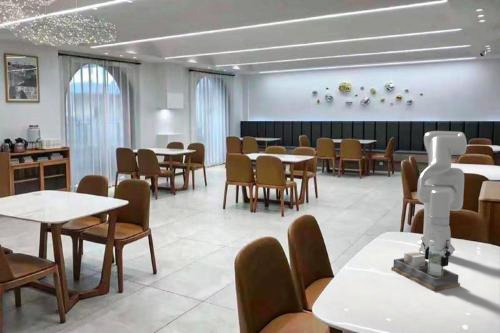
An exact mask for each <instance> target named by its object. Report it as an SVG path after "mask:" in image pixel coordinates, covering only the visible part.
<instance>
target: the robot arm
mask: <svg viewBox="0 0 500 333" xmlns="http://www.w3.org/2000/svg"><path fill="white" fill-rule="evenodd" d="M467 143H468V142H467V138H466V135H465V133H464V132H461V131H450V130H448V131H447V130H433V131H428V132H425V133H424V136H423V144H424V147H425V150H426V153H427V157H428V161H427V162H428V166H427V167H425V168H424V169H423V171H422V172H420V174H419V176H418V179H417V189H416V191H417V193H416V196H417V200H418V201H419V202H420V203H422V204H423V212H424V213H423V229H422V230H423V233H422V236H421V238H420V240H419V241H418V242H417V245H419V246H420V247H419V248H418V253H420V254H422V255H425V261H428V260H429V244H430V240H432V241H434V242H435V243H434V249H436V250H439V251H441V253H442V255H443V257H441V266H442V267H443V268H444V267H448V266H449V259H450V258H449V257H451V256H452V255H453V253H454V252H455V251H456V248H455V247H454V245H452V244H451V240H452V239H451V237H452V235H451V226H450V215H451V214H450V213H451V212H450V211H453V212H454V211H455V212H458V211H460V210H462V209H463V206H464V190H465V173H464V171H463V169H462V168H459V167H452V156H453V155H454V156H455V155H456V156H463V155H465V153H466V151H467V145H468V144H467ZM426 181H427V183H428V185H427V184H425V183H426ZM444 248H445V249H444Z"/></svg>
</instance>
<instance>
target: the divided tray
mask: <svg viewBox="0 0 500 333" xmlns="http://www.w3.org/2000/svg"><path fill="white" fill-rule="evenodd" d="M403 256H404V257H401V258H396V259H393V266H392V267H391V271H393V272H395V273H397V274H398V275H401V276H403V277H404V278H406V279H409V280H411V281H413V282H415V283H417V284H418V285H420V286H422V287H424V288H426V289H427V290H430V291H432V292H437V291H442V290H447V289H453V288H457V287H458V288H459V287H460V286H461V283H460V282H459V276H460V275H459V274H457V273H455V272H452V271H451V270H448V269H445V268H444V267H443V277H437V276H430V275H428V260H426V259H425V255H423V254H421V253H420V252H419V251H418V252H417V251H411V252H410V251H409V252H404V255H403Z"/></svg>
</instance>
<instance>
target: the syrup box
mask: <svg viewBox="0 0 500 333" xmlns="http://www.w3.org/2000/svg"><path fill="white" fill-rule="evenodd" d="M434 243H435V242H434V241H432V240H430V244H429V259H427V261H428V275H430V276H437V277H443V268H444V267H442V266H441V257H443V255H442V253H441V251H439V250H436V249H434ZM444 249H445V248H444Z"/></svg>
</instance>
